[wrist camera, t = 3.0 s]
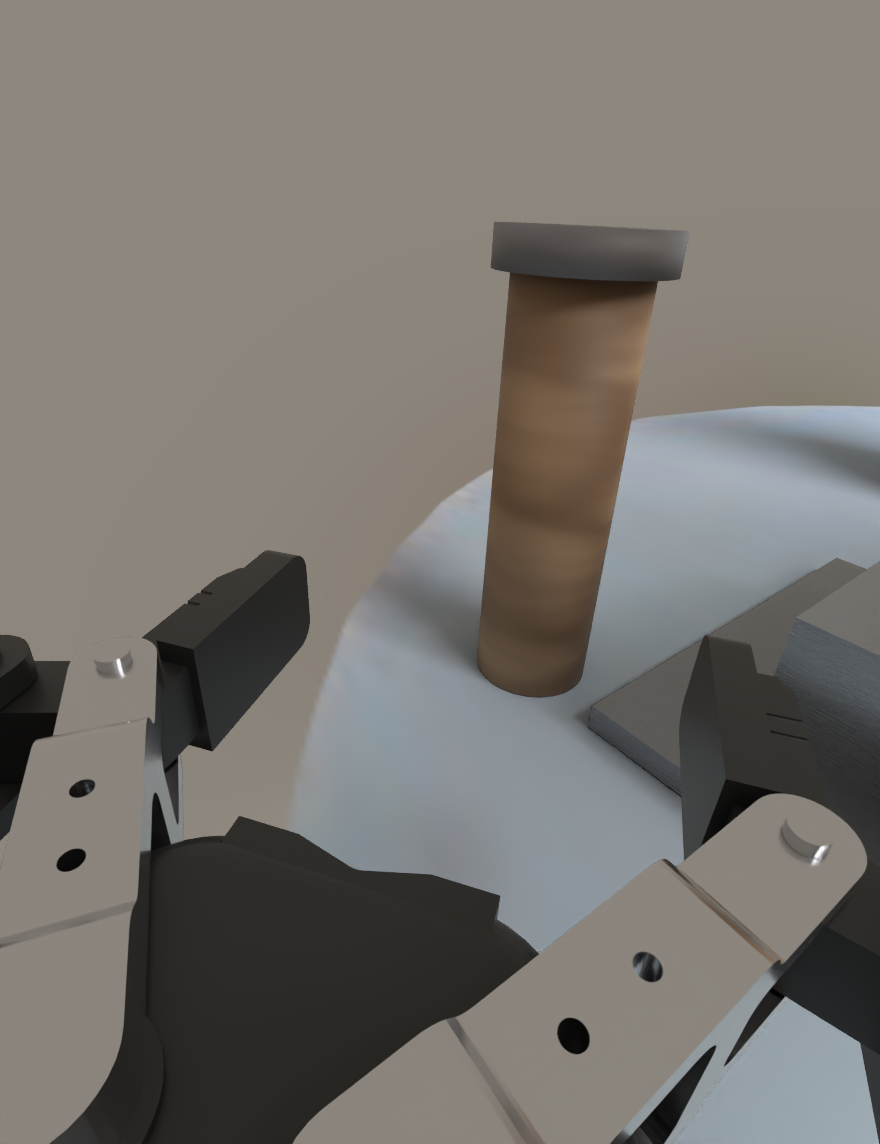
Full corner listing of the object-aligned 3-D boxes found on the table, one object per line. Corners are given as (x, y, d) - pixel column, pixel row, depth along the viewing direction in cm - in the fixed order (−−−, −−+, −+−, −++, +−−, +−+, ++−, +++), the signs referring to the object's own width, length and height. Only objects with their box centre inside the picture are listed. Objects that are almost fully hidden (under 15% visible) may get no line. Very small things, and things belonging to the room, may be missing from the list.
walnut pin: (529, 610, 30) (579, 225, 22) (625, 672, 26) (729, 232, 18) (435, 652, 27) (455, 220, 19) (529, 728, 23) (603, 228, 15)
